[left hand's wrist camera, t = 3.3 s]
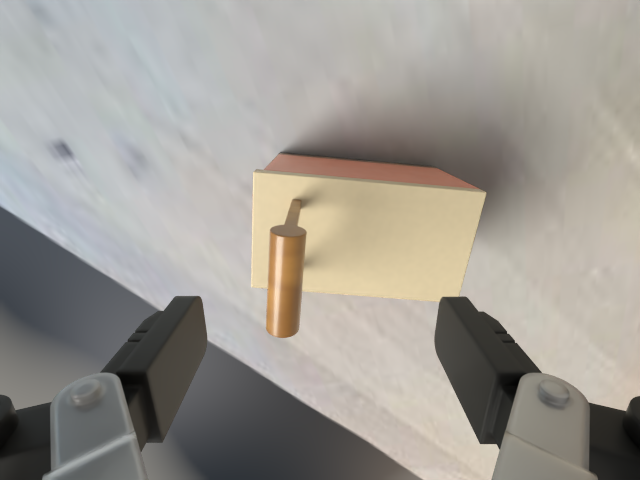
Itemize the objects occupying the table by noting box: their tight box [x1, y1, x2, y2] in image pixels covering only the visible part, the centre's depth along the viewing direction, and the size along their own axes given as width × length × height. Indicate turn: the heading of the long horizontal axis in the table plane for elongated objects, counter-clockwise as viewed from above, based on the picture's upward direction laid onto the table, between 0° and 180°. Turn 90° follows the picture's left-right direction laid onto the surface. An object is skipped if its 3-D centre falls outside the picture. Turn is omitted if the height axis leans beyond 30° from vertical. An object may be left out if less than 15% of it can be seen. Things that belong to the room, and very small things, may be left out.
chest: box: [264, 153, 479, 189], centre depth 31 cm, size 16×9×11 cm, turn 85°
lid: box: [251, 169, 487, 338], centre depth 22 cm, size 16×9×9 cm, turn 85°
